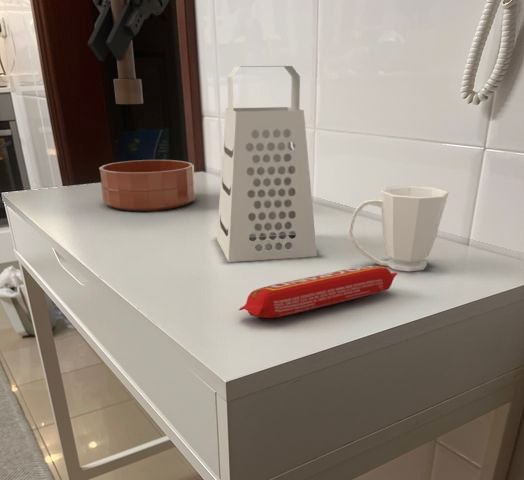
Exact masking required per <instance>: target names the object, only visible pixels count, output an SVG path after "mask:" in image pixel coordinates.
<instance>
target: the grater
mask: <svg viewBox="0 0 524 480" xmlns="http://www.w3.org/2000/svg"><path fill="white" fill-rule="evenodd" d="M260 67H261V68H266V67H267V68H269V67H270V68H274V67H275V68H276V67H277V68H279V67H280V68H284V69H285V70H286V71H287V73H288V74H289V75H290V77H291V78H290V79H291V80H290V81H291V85H290V86H291V91H290V107H289V106H278V107H277V106H276V107H275V106H274V107H273V106H272V107H234V89H233V88H234V85H233V83H234V81H233V77H234V76H235V75H236V73H237V72H238V70H239V69H240V68H260ZM226 79H227V80H226V81H227V107H226V108H225V115H224V116H225V118H224V119H225V120H224V132H223V146H222V157H221V158H222V160H221V173H220V186H219V187H220V188H219V189H220V190H219V200H218V213H217V214H218V215H217V227H216V229H217V230H216V240H217V243H218V244H219V246H220V248H221V251H222V253H223V255H224V256H225V258H226V260H227V262H228V263H238V262H239V263H240V262H252V261H253V262H254V261H265V260H266V261H268V260H280V259H281V260H282V259H283V260H284V259H298V258H310V257H311V258H312V257H318V253H317V240H316V230H315V220H314V219H315V218H314V209H313V208H314V207H313V198H312V197H313V196H312V187H311V176H310V164H309V163H310V162H309V154H308V153H309V152H308V142H307V131H306V130H307V129H306V122H305V110H304V109H300V100H301V99H300V98H301V97H300V96H301V95H300V94H301V93H300V92H301V91H300V90H301V89H300V88H301V76H300V74H299V73H298V72H297V71H296V69H295V68H294V67H293V65H239V66H234V68H233V69H232V70H231V71H230V73H229V74H228V75H227V78H226ZM290 235H294V236H295V237H294V238H291V237H290ZM271 236H275V239H271V238H270V237H271ZM280 236H285V237H284V238H283V239H282V238H280ZM254 237H255V240H251V239H250V238H254ZM260 237H265V239H263V240H261V239H260ZM278 243H280V244H281V248H280V249H277V248H276V245H277V244H278ZM286 243H290V244H291V247H290V248H289V249H288V248H287V247H286ZM258 244H259V245H261V246H262V248H261V250H257V249H256V246H257V245H258ZM267 244H270V245H271V246H272V247H271V249H269V250H267V249H266V245H267Z"/></svg>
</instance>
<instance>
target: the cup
mask: <svg viewBox="0 0 524 480" xmlns="http://www.w3.org/2000/svg"><path fill="white" fill-rule="evenodd" d="M448 196H449V191H447V190H443V189H440V188H437V187H433V186H421V185H419V186H418V185H400V186H398V185H397V186H388V187H386V188H383V189H382V190H380V199H378V198H377V199H367V200H365V201H363V202H361V203H360V204H359V205H358V206H357V207H356V208H355V209H354V211H353V213H352V217H351V219H350V225H349V232H348V233H349V237H350V240H351V243H352V244H353V246H354V247H355V248H356V249H357V251H358V252H360V253H361V254H362V255H363V256H365V257H366V258H367V259H369V260H370V261H371V262H372V263H373V262H374V263H375V264H378V265H379V266H383V267H388V268H390V269H393V270H395V271H401V272H402V271H403V272H417V271H423V270H424V269H425V268H426V267H427V265H428V263H427V262H426V261H425V260H426V259H428V257H429V255H430V253H431V250H432V248H433V246H434V243H435V240H436V238H437V235H438V231H439V227H440V224H441V220H442V217H443V214H444V209H445V207H446V203H447V199H448ZM366 206H374V207H379V208H381V222H382V224H381V225H382V238H383V243H384V249H385V255H386V256H387V257H389V259H388V260H381V259H379V258H377V257H375V256H373V255H372V254H370V253H369V252H367V251H366V250H365V249H364V248H362V246H360V245H359V243H358V242H357V241H356V240H355V237H354V235H353V234H354V233H353V230H354V224H355V222H356V218H357V216H358V214H359V213H360V212H361V211H362V209H363V208H364V207H366Z"/></svg>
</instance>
